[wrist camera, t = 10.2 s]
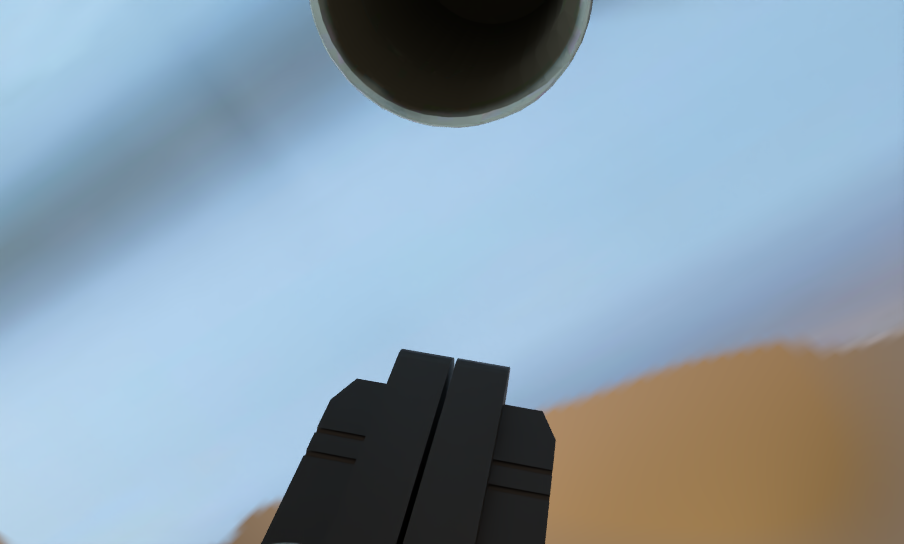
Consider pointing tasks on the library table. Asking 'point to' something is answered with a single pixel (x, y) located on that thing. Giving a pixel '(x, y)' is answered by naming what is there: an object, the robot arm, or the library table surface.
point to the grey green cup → (452, 53)
